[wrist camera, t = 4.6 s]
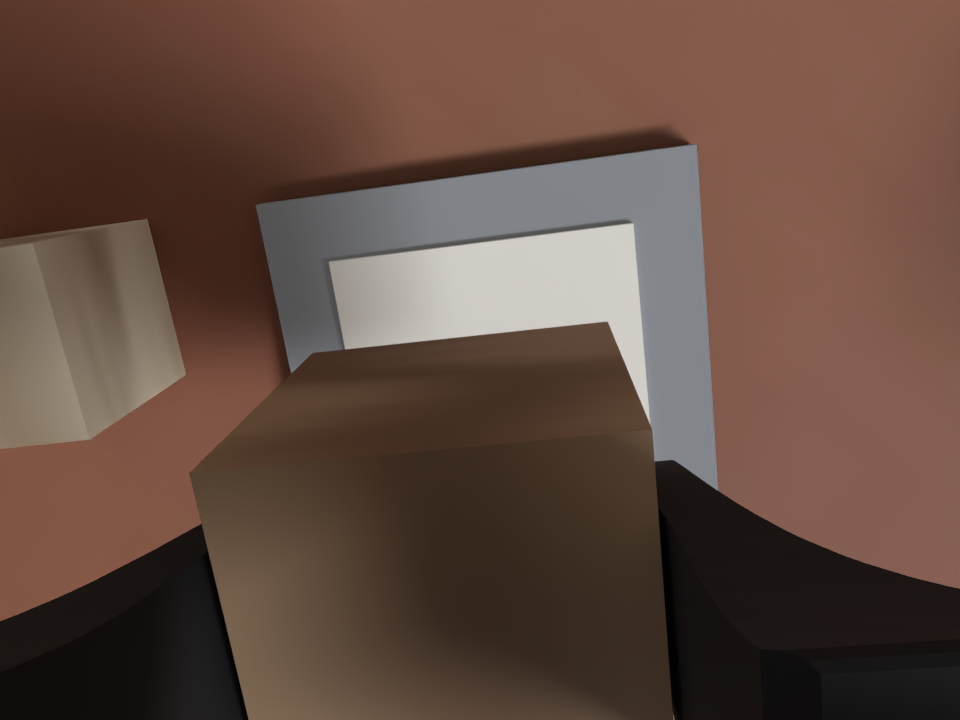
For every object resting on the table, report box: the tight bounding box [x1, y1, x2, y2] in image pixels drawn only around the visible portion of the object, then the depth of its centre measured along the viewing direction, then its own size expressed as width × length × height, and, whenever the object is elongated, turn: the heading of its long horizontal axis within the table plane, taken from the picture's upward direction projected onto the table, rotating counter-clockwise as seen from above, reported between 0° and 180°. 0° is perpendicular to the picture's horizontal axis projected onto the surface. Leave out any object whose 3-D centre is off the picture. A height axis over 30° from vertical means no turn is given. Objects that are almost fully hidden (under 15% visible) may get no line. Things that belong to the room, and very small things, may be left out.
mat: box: [256, 144, 718, 491], centre depth 19 cm, size 10×10×1 cm
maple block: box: [0, 219, 186, 449], centre depth 18 cm, size 4×4×4 cm
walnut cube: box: [190, 321, 673, 720], centre depth 11 cm, size 5×5×5 cm
